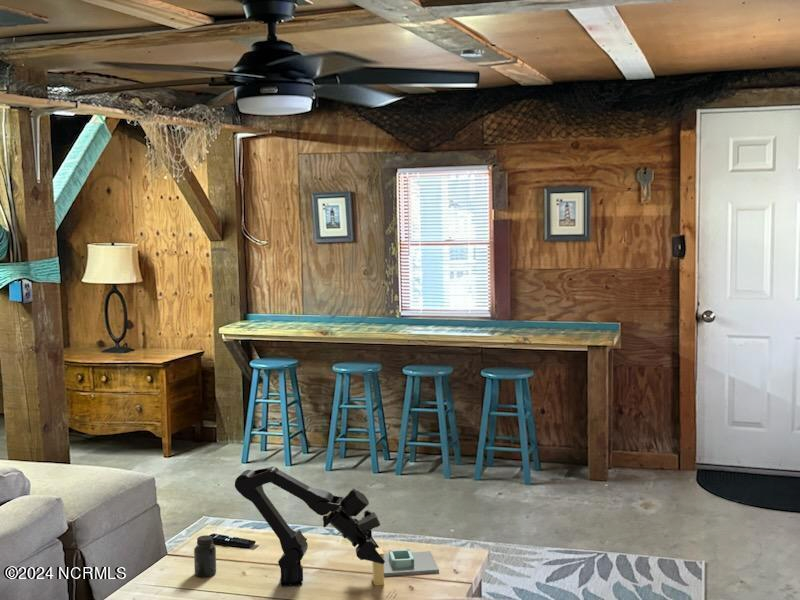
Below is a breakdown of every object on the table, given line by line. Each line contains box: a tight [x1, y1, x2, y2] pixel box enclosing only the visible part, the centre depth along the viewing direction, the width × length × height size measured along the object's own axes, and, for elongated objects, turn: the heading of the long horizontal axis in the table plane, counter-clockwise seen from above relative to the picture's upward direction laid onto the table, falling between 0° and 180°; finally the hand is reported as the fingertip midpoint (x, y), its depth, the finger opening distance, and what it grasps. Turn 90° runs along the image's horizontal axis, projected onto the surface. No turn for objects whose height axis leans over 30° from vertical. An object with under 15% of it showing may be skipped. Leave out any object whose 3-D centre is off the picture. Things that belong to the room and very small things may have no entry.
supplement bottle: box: [193, 534, 217, 579], centre depth 286 cm, size 7×7×12 cm
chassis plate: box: [384, 548, 440, 577], centre depth 293 cm, size 18×16×4 cm
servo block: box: [371, 547, 385, 586], centre depth 279 cm, size 3×5×10 cm, turn 8°
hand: (382, 557), depth 279 cm, fingers open, 9 cm apart
